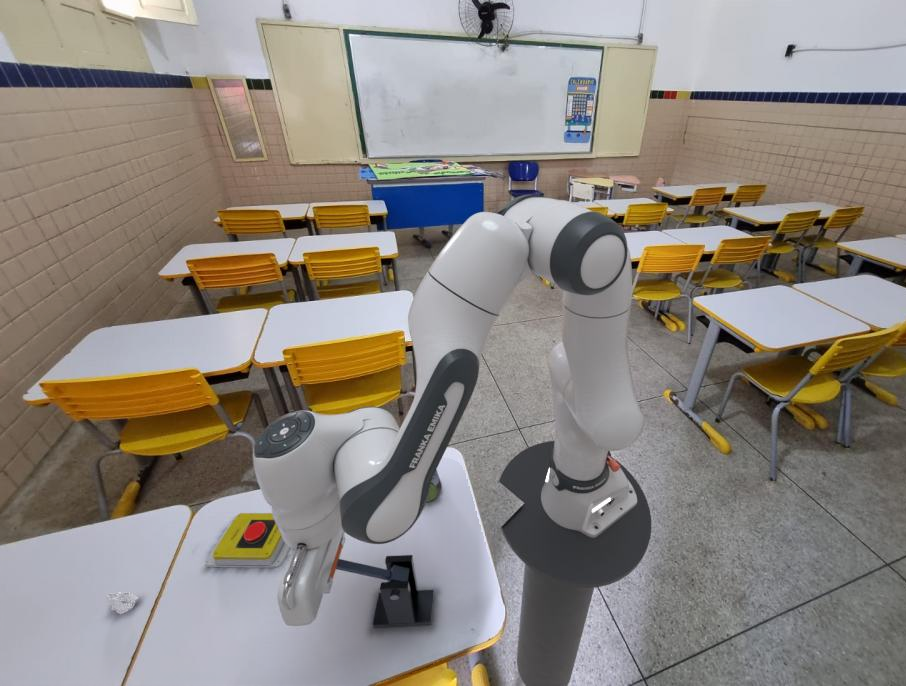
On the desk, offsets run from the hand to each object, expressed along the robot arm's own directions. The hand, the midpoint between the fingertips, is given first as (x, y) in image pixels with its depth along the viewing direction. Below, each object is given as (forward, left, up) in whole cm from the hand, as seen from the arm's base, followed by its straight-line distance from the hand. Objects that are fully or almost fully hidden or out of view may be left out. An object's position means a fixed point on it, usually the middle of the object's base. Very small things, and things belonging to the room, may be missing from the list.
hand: (333, 565), depth 60 cm
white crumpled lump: (+37, -16, -15) cm, 43 cm away
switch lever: (-4, +2, -3) cm, 5 cm away
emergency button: (+17, -20, -15) cm, 30 cm away
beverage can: (-18, -18, -15) cm, 30 cm away
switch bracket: (-9, +3, -15) cm, 18 cm away
